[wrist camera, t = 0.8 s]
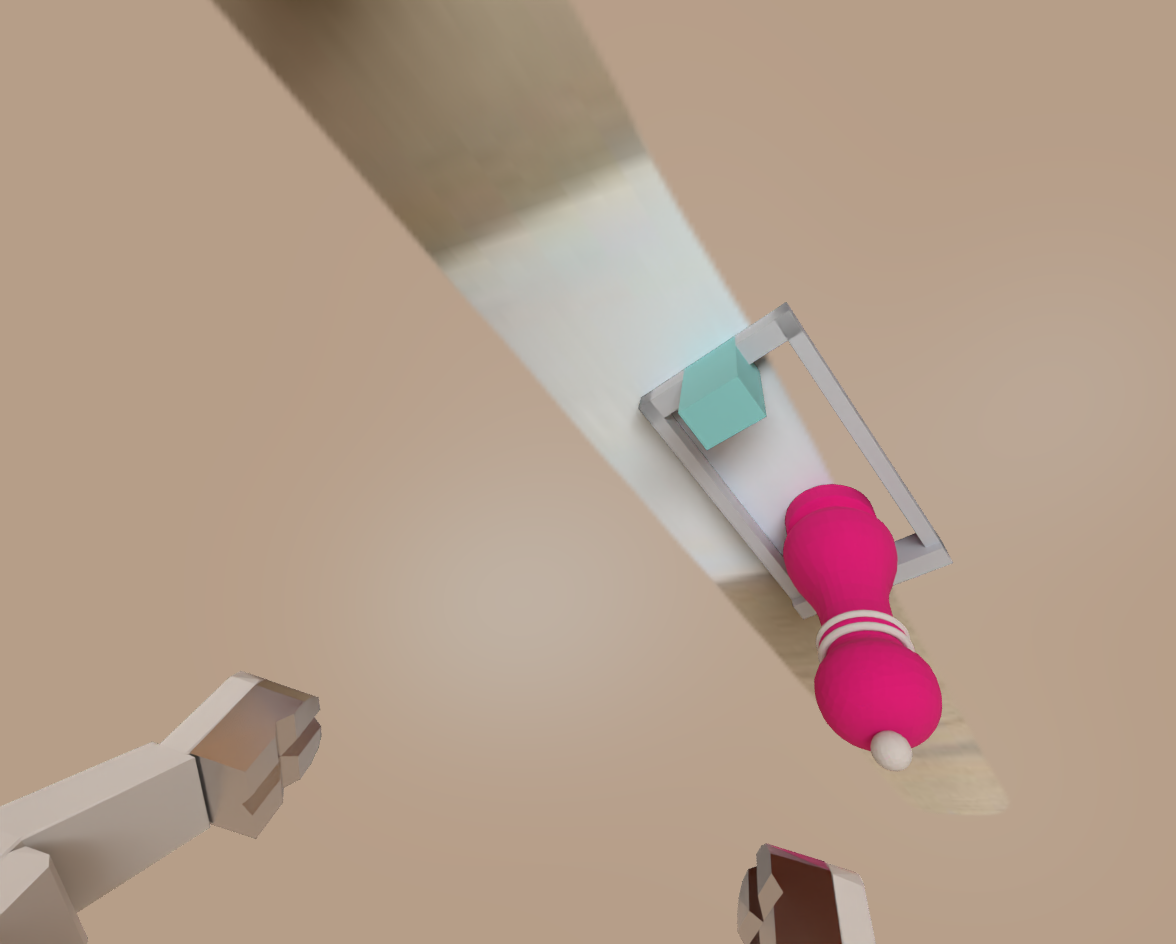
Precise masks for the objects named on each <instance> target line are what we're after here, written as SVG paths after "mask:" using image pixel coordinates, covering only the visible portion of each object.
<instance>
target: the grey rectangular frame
mask: <svg viewBox="0 0 1176 944" xmlns="http://www.w3.org/2000/svg"><path fill="white" fill-rule="evenodd" d="M786 341H789V343H790V344H791V346H792V347H793V349H794V350H795V352H796V353H797V355H798V356H799V358H800V359H801V361H802V362H803V364H804V365H805V367H806V368H807V370H808V371H809V373H810V374H811V376H812V377H813V379H814V380H815V382H816V383H817V385H818V386H819V388H820V389H821V391H822V392H823V394H824V395H825V397H826V398H827V400H828V401H829V403H830V404H831V406H832V408H833V409H834V411H835V412H836V413H837V415H838V416H839V418H840V420H841V421H842V422H843V424H844V426H845V427H846V428H847V430H848V432H849V433H850V435H851V436H852V438H853V439H854V441H855V442H856V444H857V445H858V447H859V448H860V449H861V451H862V453H863V454H864V456H865V457H866V458H867V460H868V462H869V463H870V465H871V466H872V467H873V469H874V471H875V472H876V473H877V475H878V477H879V478H880V480H881V481H882V483H883V484H884V486H885V487H886V489H887V490H888V491H889V493H890V495H891V496H892V498H893V499H894V501H895V502H896V504H897V505H898V506H899V508H900V510H901V511H902V512H903V514H904V516H905V517H906V519H907V520H908V522H909V523H910V525H911V526H912V528H913V529H914V531H915V532H916V533H915V534H912V535H910V536H907V537H905V538H903V539H900V540H898V541H895V546H896V550H897V557H898V562H897V573H896V576H895V579H894V583H893V586H894V585H896V584H899V583H901V582H904V581H907V580H909V579H912V578H915V577H917V576H920V575H923V574H925V573H928V572H931V571H933V570H936V569H939V568H941V567H944V566H947V565H949V564H952V563H953V562H952V560H951V558H950V556H949V554H948V552H947V550H946V549H945V547H944V545H943V543H942V541H941V539H940V538H939V536H938V535H937V533H936V532H935V530H934V529H933V527H932V525H931V524H930V522H929V521H928V519H927V518H926V516H925V515H924V513H923V512H922V510H921V508H920V507H919V505H918V504H917V502H916V501H915V499H914V498H913V496H912V495H911V493H910V492H909V490H908V488H907V487H906V485H905V484H904V482H903V481H902V479H901V478H900V476H899V475H898V473H897V472H896V470H895V469H894V467H893V466H892V464H891V462H890V461H889V459H888V458H887V456H886V455H885V453H884V452H883V450H882V448H881V447H880V446H879V444H878V442H877V441H876V439H875V438H874V436H873V435H872V433H871V432H870V430H869V428H868V427H867V425H866V424H865V423H864V421H863V419H862V418H861V416H860V415H859V413H858V411H857V410H856V408H855V407H854V405H853V404H852V402H851V401H850V399H849V398H848V396H847V395H846V393H845V391H844V390H843V389H842V387H841V385H840V384H839V382H838V381H837V379H836V378H835V376H834V375H833V373H832V371H831V370H830V368H829V367H828V365H827V364H826V363H825V361H824V359H823V358H822V356H821V355H820V353H819V352H818V350H817V348H816V347H815V346H814V344H813V342H812V341H811V339H810V338H809V336H808V335H807V333H806V332H805V330H804V328H803V327H802V326H801V324H800V322H799V321H798V319H797V318H796V316H795V315H794V313H793V311H792V310H791V308H790V307H789V305H788V304H787V302H785V303H784V304H782V305H781V306H779V307H778V308H776V309H775V310H773V311H772V312H770V313H769V314H767V315H766V316H764V317H763V318H761V319H760V320H758V321H757V322H755V323H754V324H752V325H751V326H749V327H748V328H746V329H745V330H743V331H741V332H740V333H738V334H737V335H735V336H734V337H732V338H731V339H729V340H728V341H726V342H725V343H723V344H722V345H720V346H719V347H717V348H716V349H714V350H713V351H711V352H710V353H708V354H707V355H705V356H704V357H702V358H701V359H699V360H698V361H696V362H694V363H693V364H691V365H690V366H688V367H687V368H685V369H684V370H682V371H681V372H679V373H678V374H676V375H675V376H673V377H672V378H670V379H669V380H667V381H666V382H664V383H663V384H661V385H660V386H658V387H657V388H655V389H654V390H652V391H651V392H649V393H648V394H646V395H644V396H643V397H641V400H640V404H639V410H640V411H641V412H642V413H643V415H644V416H645V417H646V418H647V420H648V421H649V422H650V423H651V425H652V426H653V427H654V428H655V430H656V431H657V432H658V433H659V435H660V436H661V437H662V438H663V440H664V441H665V442H666V443H667V445H668V446H669V447H670V448H671V450H672V451H673V452H674V453H675V455H676V456H677V457H678V458H679V460H680V461H681V462H682V463H683V465H684V466H685V467H686V468H687V470H688V471H689V472H690V473H691V475H692V476H693V477H694V478H695V480H696V481H697V482H698V483H699V485H700V486H701V487H702V488H703V490H704V491H705V492H706V493H707V495H708V496H709V497H710V498H711V500H712V501H713V502H714V503H715V505H716V506H717V507H718V508H719V510H720V511H721V512H722V513H723V515H724V516H725V517H726V518H727V520H728V521H729V522H730V523H731V525H732V526H733V527H734V528H735V530H736V531H737V532H738V533H739V535H740V536H741V537H742V538H743V540H744V541H745V542H746V543H747V545H748V546H749V547H750V548H751V550H752V551H753V552H754V553H755V555H756V556H757V557H758V558H759V560H760V561H761V562H762V563H763V565H764V566H765V567H766V568H767V570H768V571H769V572H770V573H771V575H772V576H773V577H774V578H775V580H776V581H777V582H778V583H779V585H780V586H781V587H782V588H783V590H784V591H785V592H786V593H787V595H788V596H789V597H790V598H791V600H792V604H793V607H794V608H795V610H796V611H797V612H798V613H799V615H800V616H801V617H802V618H803V619H806V618H808V617H811V616H814V615H816V614H817V613H816V611H815V610H814V609H813V608H812V606H811V605H810V604H809V603H808V602H807V601H806V600H805V598H804V597H803V596H802V595H801V594H800V593H799V592H798V590H797V589H796V587H795V586H794V584H793V583H792V581H791V579H790V577H789V575H788V573H787V569H786V566H785V562H784V558H783V557H782V555H781V554H780V553H779V552H778V550H777V549H776V548H775V546H774V545H773V544H772V543H771V541H770V540H769V539H768V537H767V536H766V535H765V534H764V532H763V531H762V530H761V528H760V527H759V526H758V525H757V523H756V522H755V521H754V520H753V518H752V517H751V516H750V514H749V513H748V512H747V511H746V509H745V508H744V507H743V505H742V504H741V503H740V502H739V500H738V499H737V498H736V496H735V495H734V494H733V493H732V491H731V490H730V489H729V487H728V486H727V485H726V484H725V482H724V481H723V480H722V479H721V477H720V476H719V475H718V473H717V472H716V471H715V470H714V468H713V467H712V466H711V464H710V463H709V462H708V461H707V459H706V458H705V457H704V455H703V454H702V453H701V452H700V450H699V449H698V448H697V447H696V445H695V444H694V443H693V441H692V440H691V439H690V438H689V436H688V435H687V434H686V432H685V431H684V430H683V429H682V427H681V426H680V425H679V423H678V422H677V421H676V420H675V418H674V417H673V416H672V414H671V413H673V412H674V411H676V410H678V409H679V410H678V414H679V415H680V416H681V418H682V419H683V420H684V422H685V423H686V424H687V425H688V427H689V428H690V429H691V431H692V432H693V433H694V434H695V436H696V437H697V438H698V440H699V441H700V442H701V443H702V445H703V446H704V447H705V449H706V450H709V449H710V448H712V447H714V446H716V445H717V444H719V443H721V442H723V441H724V440H726V439H728V438H730V437H731V436H733V435H735V434H737V433H738V432H740V431H742V430H744V429H746V428H747V427H749V426H751V425H753V424H754V423H756V422H758V421H760V420H761V419H763V418H765V417H766V410H765V404H764V397H763V391H762V384H761V378H760V372H759V370H758V368H757V367H756V365H755V364H754V363H753V362H754V361H756V360H758V359H759V358H761V357H762V356H764V355H766V354H767V353H769V352H770V351H772V350H773V349H775V348H777V347H778V346H780V345H781V344H783V343H784V342H786Z"/></svg>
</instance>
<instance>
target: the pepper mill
mask: <svg viewBox="0 0 1176 944" xmlns="http://www.w3.org/2000/svg"><path fill="white" fill-rule="evenodd" d="M785 525H786V531H787V537H786V540H785V543H784V549H783V557H784V562H785V566H786V569H787V573H788V575H789V577H790V579H791V581H792V583H793V584H794V586H795V587H796V589H797V590H798V592H799V593H800V594H801V595H802V596H803V597H804V598H805V600H806V601H807V602H808V603H809V604H810V605H811V606H812V608H813V609H814V610H815V611H816V613H817V615H818V616H819V619H820V623H821V626H822V627H821V628H820V630H819V632H818V634H817V637H816V648H817V651H818V659H819V663H820V665H819V667H818V670H817V672H816V676H815V679H814V683H815V696H816V700H817V704H818V706H819V709H820V711H821V713H822V715H823V717H824V719H825V720H826V722H827V724H829V726H830V727H831V728H832V729H833V730H834V731H835V733H837V734H838V735H839V736H840V737H841V738H843V739H844V740H846V741H847V742H849V743H850V744H852V745H854V746H857V747H859V748H862V749H865V750H868V751H871V753H872V756H873V757H874V759H875V760H876V762H877V763H878V764H879V765H880V766H882V767H883V768H885V769H887V770H890V771H901V770H904V769H905V768H907V767H908V766H909V764H910V763H911V760H912V749H911V748H913V747H916V746H918V745H920V744H921V743H923V742H924V741H925V740H927V739H928V738H929V737H930V736H931V734H932V733H933V732H934V730H935V729H936V727H937V725H938V723H939V720H940V717H941V713H942V696H941V691H940V688H939V685H938V681H937V678H936V676H935V675H934V673H933V671H932V669H931V668H930V666H929V665H928V664H927V663H926V662H925V661H924V660H923V659H922V658H921V657H920V656H919V655H918V654H917V653H915V649H914V646H913V644H912V642H911V640H910V635H909V632H908V631H907V629H906V627H905V626H904V625H903V624H902V623H901V622H900V621H899V620H897V619H896V618H894V617H893V615H892V612H891V608H890V604H889V594H890V591H891V589H892V586H893V583H894V579H895V576H896V573H897V562H898V557H897V550H896V546H895V542H894V539H893V537H892V535H891V533H890V531H889V530H888V528H887V527H886V526H885V525H884V523H883V522H881V521H880V520H879V519H877V518H876V515H875V513H874V510H873V507H872V505H871V503H870V501H869V500H868V499H867V497H865V496H864V495H863V494H862V493H861V492H859V491H857V490H856V489H853V488H851V487H847V486H843V485H836V484H829V485H820V486H816V487H814V488H811V489H809V490H806V491H804V492H803V493H801V494H800V495H799V496H797V497H796V498H795V499H794V500H793V502H792V503H791V504H790V506H789V508H788V509H787V513H786V517H785Z"/></svg>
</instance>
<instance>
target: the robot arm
mask: <svg viewBox="0 0 1176 944" xmlns="http://www.w3.org/2000/svg"><path fill="white" fill-rule="evenodd" d="M319 710H320V705H319V698H318V697H316V696H313V695H310V694H307V693H304V692H301V691H298V690H295V689H292V688H290V687H287V686H284V685H281V684H278V683H275V682H272V681H269V680H267V679H264V678H261V677H258V676H255V675H251V674H249V673H246V672H242V671H240V672H238V673H236V674H235V675H233V676H231V677H229V678H228V679H227V680H226V681H225V682H224V683H223V684H222V685H221V686H220V687H219V688H218V689H217V690H215V692H213V693H212V694H211V695H210V696H209V697H208V698H207V699H206V700H205V701H204V702H203V703H202V704H201V705H200V706H199V707H198V708H197V709H196V710H195V711H194V712H193V713H191V715H189V716H188V717H187V718H186V719H185V720H184V721H183V722H182V723H181V724H180V725H179V726H178V727H177V728H176V729H175V730H174V731H173V732H172V733H171V734H170V735H169V736H168V737H167V738H165V739H164V740H163V741H162V742H161V743H160V744H158V743H155V742H150V743H148V744H146V745H143V746H141V747H138V748H136V749H134V750H132V751H129V752H127V753H124V754H122V755H120V756H117V757H115V758H113V759H111V760H108V761H106V762H104V763H101V764H99V765H97V766H94V767H92V768H89V769H87V770H85V771H83V772H80V773H78V774H75V775H73V776H71V777H69V778H66V779H64V780H61V781H59V782H57V783H54V784H52V785H50V786H47V787H45V788H43V789H40V790H38V791H36V792H33V793H31V794H29V795H26V796H24V797H22V798H20V799H17V800H15V801H12V802H10V803H8V804H6V805H3V806H1V807H0V944H87V942H88V937H87V935H86V933H85V931H84V929H83V927H82V925H81V922H80V920H79V918H78V916H77V912H79V911H80V910H82V909H83V908H85V907H87V906H88V905H90V904H91V903H93V902H94V901H96V900H97V899H99V898H101V897H102V896H103V895H105V894H107V893H109V892H110V891H112V890H113V889H115V888H116V887H118V886H119V885H121V884H123V883H124V882H126V881H127V880H129V879H130V878H132V877H134V876H135V875H137V874H138V873H140V872H141V871H143V870H145V869H146V868H148V867H149V866H151V865H152V864H154V863H155V862H157V861H159V860H160V859H162V858H163V857H165V856H166V855H168V854H170V853H171V852H172V851H174V850H176V849H177V848H179V847H181V846H182V845H184V844H185V843H187V842H188V841H190V840H192V839H193V838H194V837H196V836H198V835H199V834H201V833H202V832H204V831H205V830H207V829H209V828H210V824H212V825H215V826H218V827H221V828H224V829H227V830H230V831H233V832H236V833H239V834H242V835H246V836H248V837H251V838H254V839H256V838H257V837H258V835H259V834H260V833H261V831H262V830H263V829H264V827H265V826H266V825H267V823H268V822H269V821H270V819H271V818H272V817H273V815H274V814H275V812H276V811H277V810H278V809H279V807H280V806H281V805H282V803H283V790H284V787H286V786H288V785H290V784H292V783H294V782H296V781H298V780H300V779H301V777H302V776H303V774H304V773H305V771H306V770H307V769H308V767H309V766H310V765H311V763H312V761H313V758H314V756H315V754H316V752H317V750H318V748H319V744H320V740H321V726H320V724H319V723H318V722H317V720H316V719H315V717H314V716H315V715H316V714H317V713H318V712H319ZM756 855H757V866H756V867H753V868H750V869H748V871H747V873H746V875H745V877H744V879H743V881H742V886H741V890H740V894H739V901H738V914H737V915H738V916H737V917H738V920H737V924H738V925H737V927H738V928H737V930H738V933H739V935H740V937H741V939H742V941H743V943H744V944H876V943H875V938H874V933H873V928H872V923H871V918H870V913H869V908H868V903H867V898H866V893H865V888H864V883H863V881H862V879H861V878H860V876H859V875H858V874H857V873H855V872H853V871H850V870H847V869H844V868H840V867H837V866H834V865H831V864H827V863H825V862H824V861H821V860H818V859H815V858H812V857H808V856H805V855H802V854H798V853H795V852H792V851H789V850H786V849H782V848H779V847H776V846H773V845H769V844H764V845H762V846H761V848H760V849H759V851H758V852H757V854H756Z"/></svg>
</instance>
